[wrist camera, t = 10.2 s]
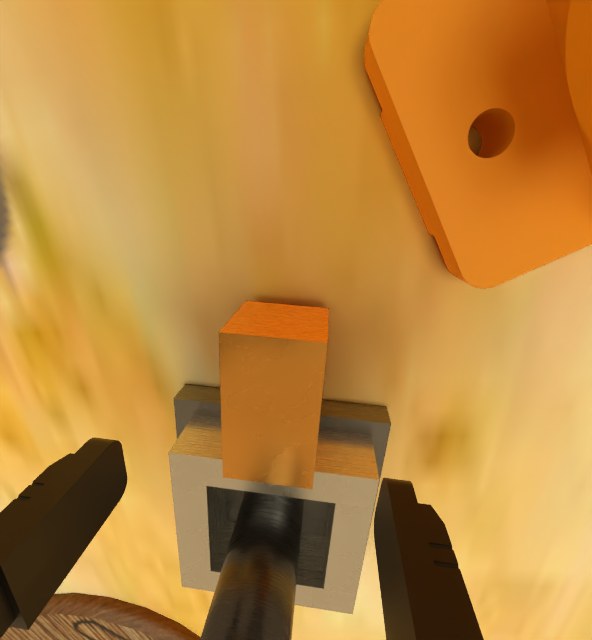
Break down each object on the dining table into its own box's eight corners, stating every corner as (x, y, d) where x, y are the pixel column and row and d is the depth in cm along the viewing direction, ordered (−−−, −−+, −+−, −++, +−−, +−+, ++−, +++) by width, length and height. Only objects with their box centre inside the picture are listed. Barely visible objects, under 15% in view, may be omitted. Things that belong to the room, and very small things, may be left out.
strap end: (186, 295, 16) (141, 324, 12) (392, 314, 15) (413, 351, 11) (201, 536, 22) (174, 606, 18) (349, 559, 21) (353, 636, 17)
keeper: (185, 384, 19) (1, 611, 9) (386, 407, 18) (463, 692, 8) (194, 524, 24) (80, 795, 13) (359, 549, 23) (384, 863, 12)
